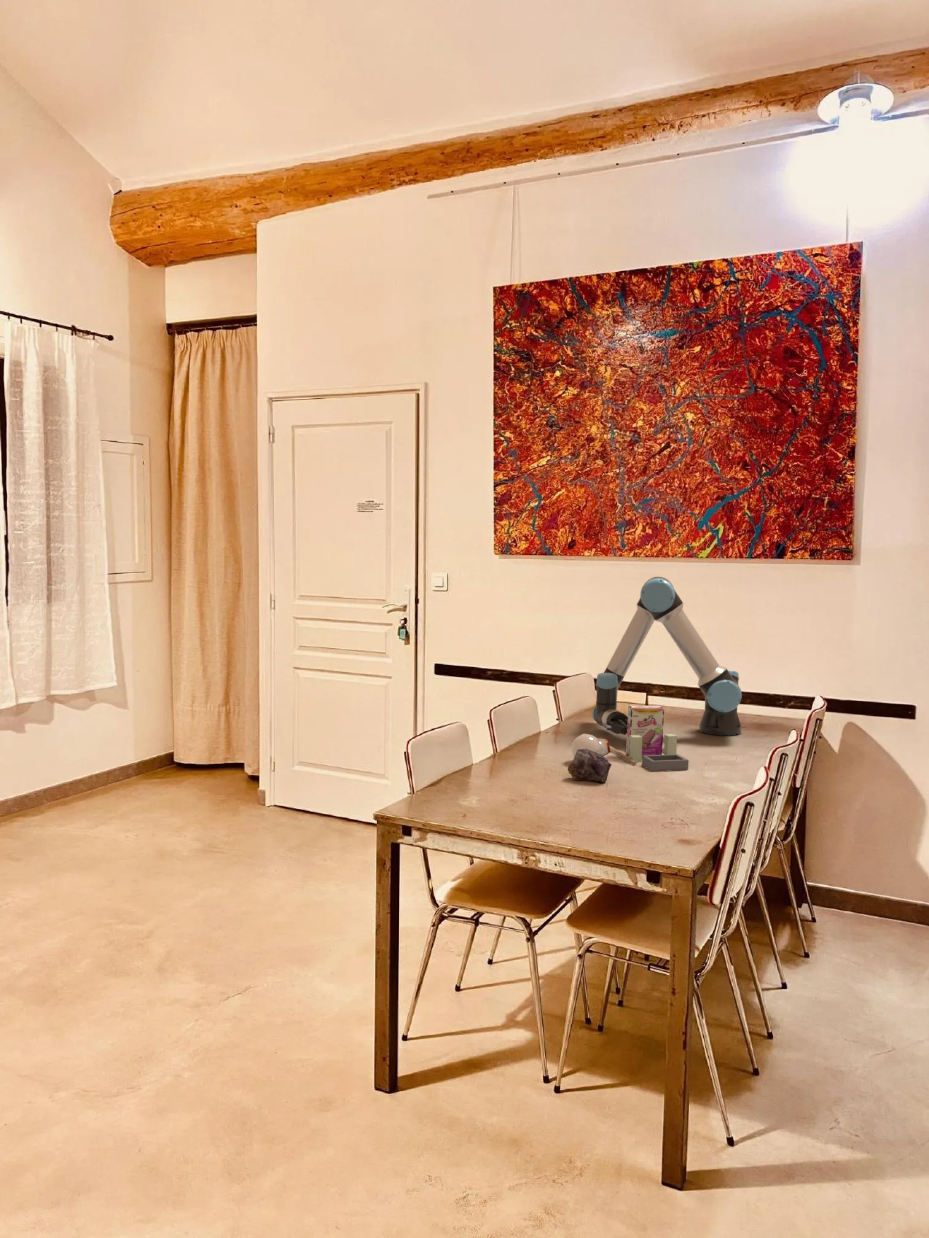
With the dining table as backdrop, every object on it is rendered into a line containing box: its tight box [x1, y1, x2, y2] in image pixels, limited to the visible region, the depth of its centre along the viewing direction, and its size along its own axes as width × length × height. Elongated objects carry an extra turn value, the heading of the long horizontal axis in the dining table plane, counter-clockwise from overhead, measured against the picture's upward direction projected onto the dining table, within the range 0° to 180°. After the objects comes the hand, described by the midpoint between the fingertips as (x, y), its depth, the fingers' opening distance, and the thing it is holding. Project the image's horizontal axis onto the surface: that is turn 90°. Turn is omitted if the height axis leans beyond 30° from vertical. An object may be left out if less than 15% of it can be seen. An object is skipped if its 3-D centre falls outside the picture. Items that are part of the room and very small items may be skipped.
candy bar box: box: [625, 705, 665, 757], centre depth 318 cm, size 11×5×16 cm, turn 93°
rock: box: [567, 749, 613, 783], centre depth 287 cm, size 12×9×10 cm
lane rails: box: [609, 744, 664, 766], centre depth 320 cm, size 18×26×1 cm
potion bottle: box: [570, 733, 611, 758], centre depth 309 cm, size 9×10×15 cm
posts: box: [628, 733, 678, 763], centre depth 313 cm, size 15×3×8 cm, turn 102°
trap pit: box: [641, 753, 690, 772], centre depth 304 cm, size 12×8×3 cm, turn 102°
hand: (642, 735), depth 321 cm, fingers closed
